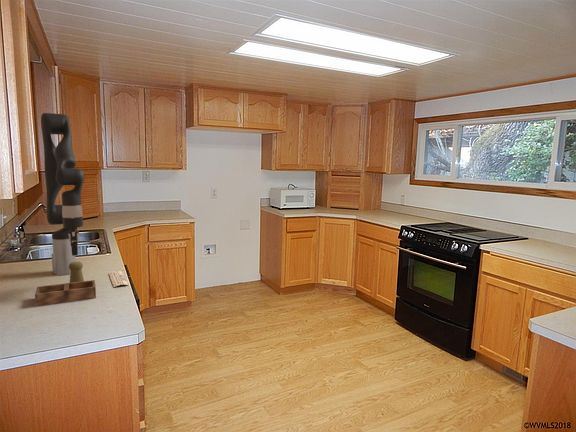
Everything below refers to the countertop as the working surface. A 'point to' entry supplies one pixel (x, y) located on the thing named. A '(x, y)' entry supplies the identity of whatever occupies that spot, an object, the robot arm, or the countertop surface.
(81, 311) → the countertop surface
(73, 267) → the cork
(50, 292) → the walnut caddy
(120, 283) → the newspaper
